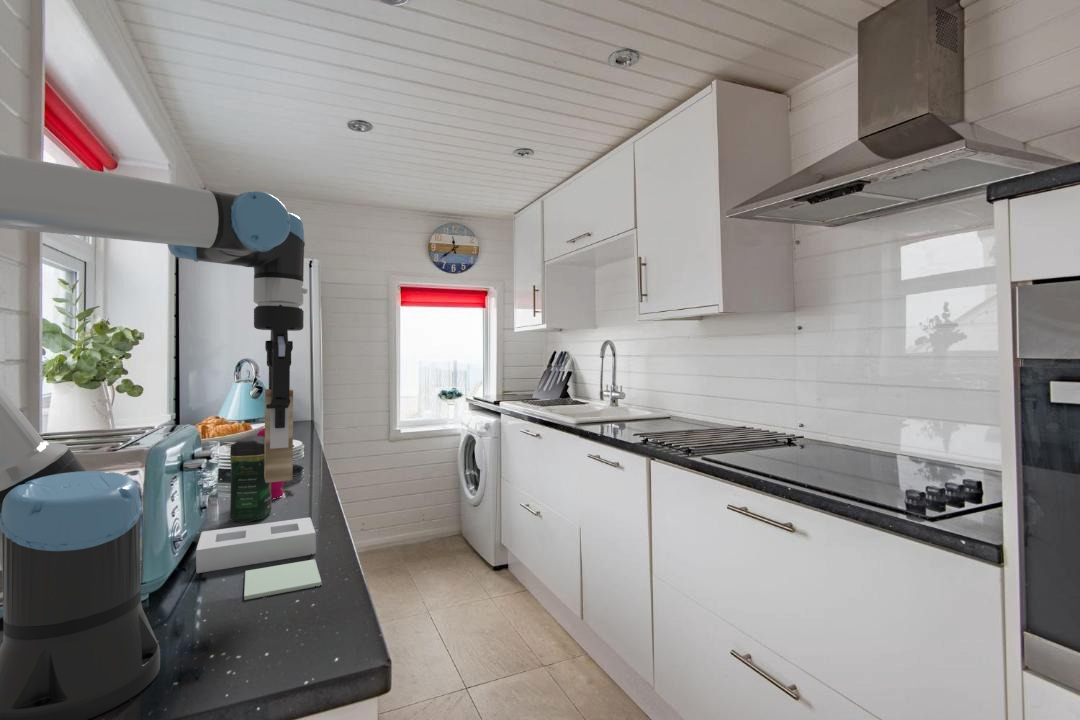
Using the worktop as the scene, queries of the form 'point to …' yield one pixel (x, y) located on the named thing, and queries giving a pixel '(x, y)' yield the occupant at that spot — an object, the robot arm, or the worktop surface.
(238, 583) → the worktop surface
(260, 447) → the coffee jar
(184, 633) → the worktop surface
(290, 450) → the tan wooden tall block
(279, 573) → the mat
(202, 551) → the white box
